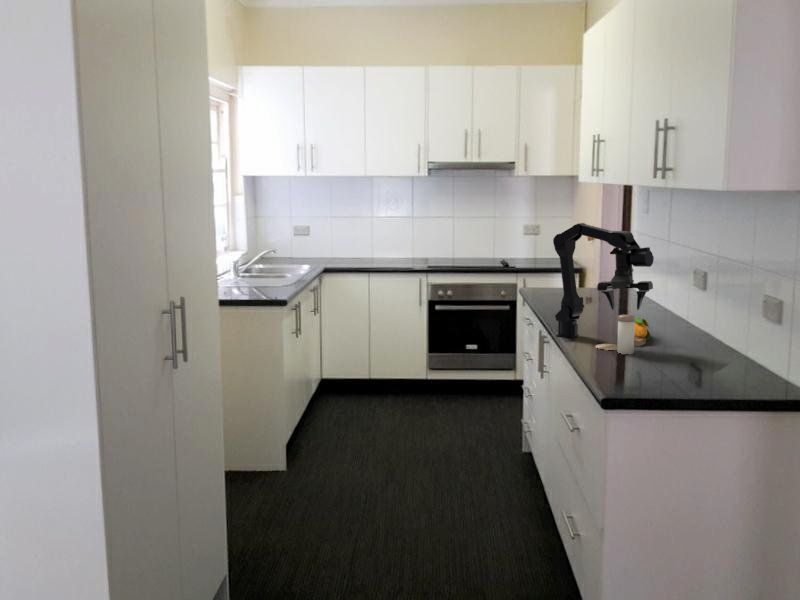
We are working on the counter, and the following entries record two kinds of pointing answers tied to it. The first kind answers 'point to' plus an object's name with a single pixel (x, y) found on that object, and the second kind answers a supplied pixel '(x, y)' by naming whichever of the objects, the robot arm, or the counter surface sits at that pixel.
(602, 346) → the coaster
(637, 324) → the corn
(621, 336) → the jar
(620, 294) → the counter surface
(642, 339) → the tile
